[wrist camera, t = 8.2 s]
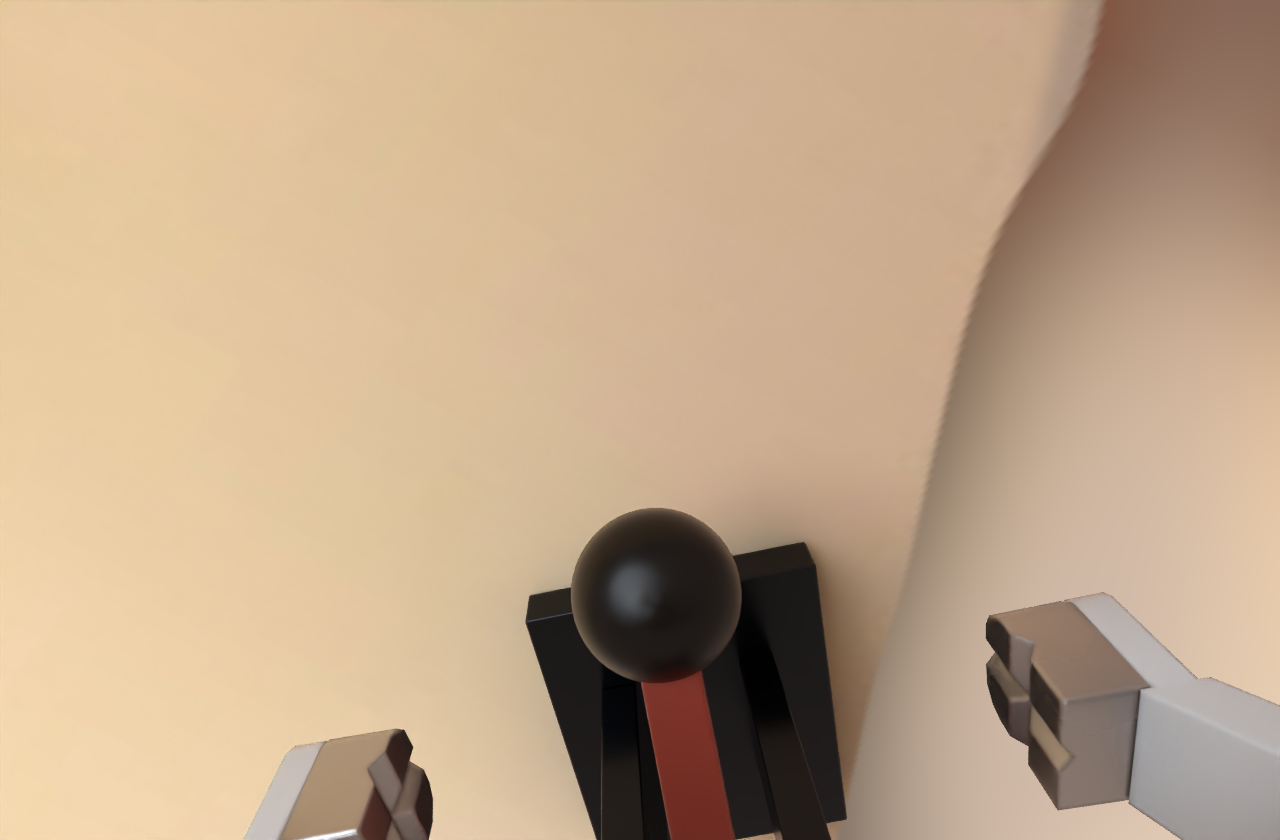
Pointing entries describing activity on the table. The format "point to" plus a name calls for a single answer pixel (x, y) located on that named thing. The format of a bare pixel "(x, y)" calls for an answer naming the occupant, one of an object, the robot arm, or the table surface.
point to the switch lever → (665, 645)
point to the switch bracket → (739, 706)
